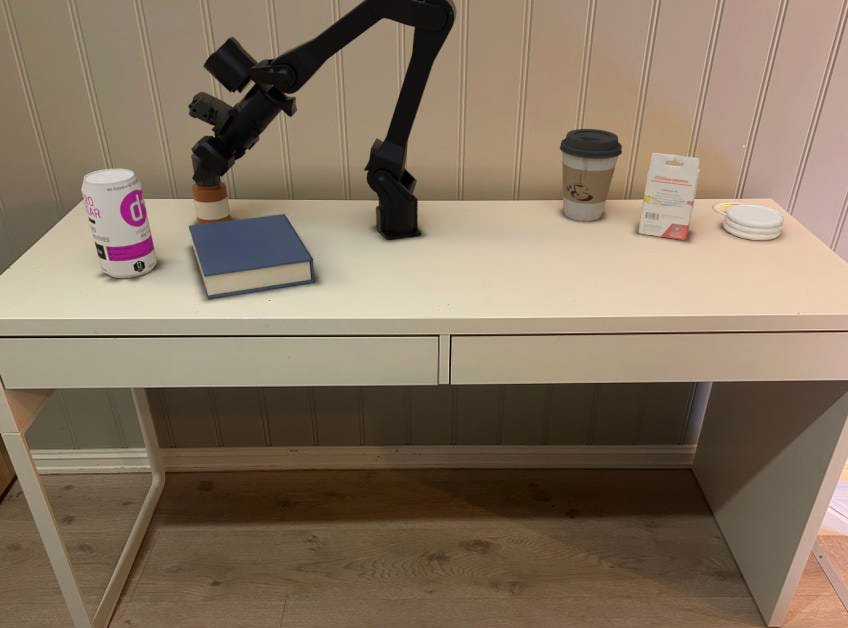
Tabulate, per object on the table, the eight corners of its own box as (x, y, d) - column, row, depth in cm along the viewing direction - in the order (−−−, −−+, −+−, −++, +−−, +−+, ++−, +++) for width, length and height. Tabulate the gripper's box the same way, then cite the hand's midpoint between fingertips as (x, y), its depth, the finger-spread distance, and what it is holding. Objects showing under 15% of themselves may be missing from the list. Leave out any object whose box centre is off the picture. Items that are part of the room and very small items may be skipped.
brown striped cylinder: (228, 215, 136) (221, 167, 131) (233, 227, 131) (226, 177, 126) (195, 219, 134) (187, 171, 129) (199, 231, 129) (191, 181, 124)
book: (286, 235, 128) (284, 213, 126) (315, 282, 113) (313, 258, 111) (192, 248, 123) (188, 225, 121) (208, 299, 108) (204, 274, 105)
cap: (218, 177, 131) (214, 150, 128) (222, 184, 128) (218, 157, 125) (194, 179, 129) (189, 152, 127) (197, 187, 126) (192, 159, 124)
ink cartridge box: (688, 231, 134) (705, 151, 126) (685, 241, 130) (702, 159, 122) (641, 224, 136) (654, 145, 129) (636, 233, 132) (650, 152, 125)
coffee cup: (545, 219, 137) (553, 139, 130) (561, 200, 146) (569, 124, 138) (605, 229, 134) (617, 147, 126) (618, 209, 143) (629, 131, 135)
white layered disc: (749, 244, 129) (754, 226, 127) (711, 225, 137) (715, 207, 135) (791, 236, 133) (797, 218, 131) (751, 218, 140) (756, 200, 138)
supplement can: (168, 262, 118) (150, 171, 110) (134, 283, 111) (112, 187, 103) (127, 254, 120) (106, 164, 112) (90, 275, 114) (66, 180, 106)
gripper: (233, 65, 127) (181, 128, 133) (194, 89, 111) (138, 158, 117) (282, 114, 131) (230, 172, 137) (252, 143, 115) (194, 207, 121)
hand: (199, 176), depth 128 cm, fingers closed on cap, 4 cm apart
